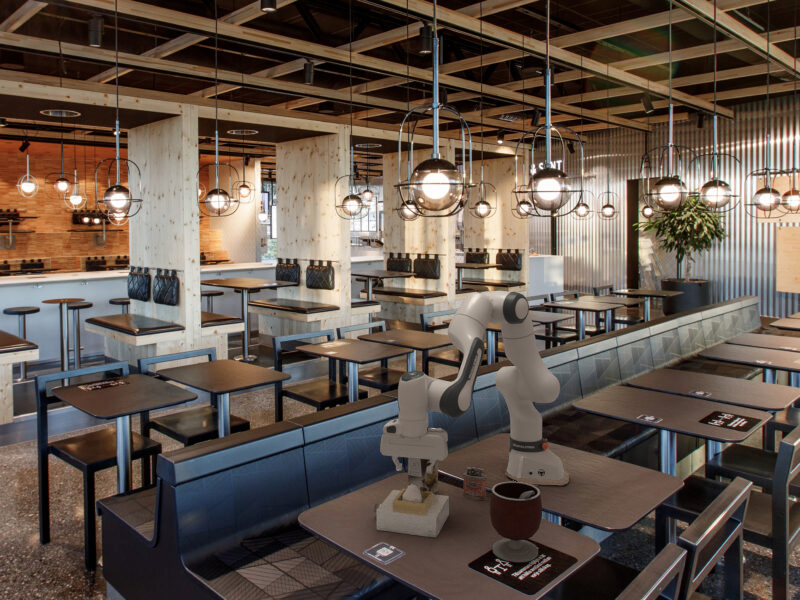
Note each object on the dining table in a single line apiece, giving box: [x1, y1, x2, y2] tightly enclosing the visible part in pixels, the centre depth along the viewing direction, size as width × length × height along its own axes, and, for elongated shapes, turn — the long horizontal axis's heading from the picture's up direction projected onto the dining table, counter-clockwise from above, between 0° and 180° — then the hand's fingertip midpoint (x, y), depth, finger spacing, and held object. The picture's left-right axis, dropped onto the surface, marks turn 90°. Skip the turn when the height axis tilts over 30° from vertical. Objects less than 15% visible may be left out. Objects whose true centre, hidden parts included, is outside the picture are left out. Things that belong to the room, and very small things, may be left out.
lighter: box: [462, 466, 488, 501], centre depth 211 cm, size 8×3×10 cm, turn 62°
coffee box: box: [407, 457, 439, 494], centre depth 214 cm, size 9×6×16 cm
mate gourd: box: [489, 481, 543, 563], centre depth 173 cm, size 16×14×20 cm
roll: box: [402, 484, 422, 503], centre depth 193 cm, size 6×12×6 cm
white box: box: [374, 488, 450, 539], centre depth 193 cm, size 21×16×8 cm
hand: (414, 471), depth 192 cm, fingers open, 8 cm apart
